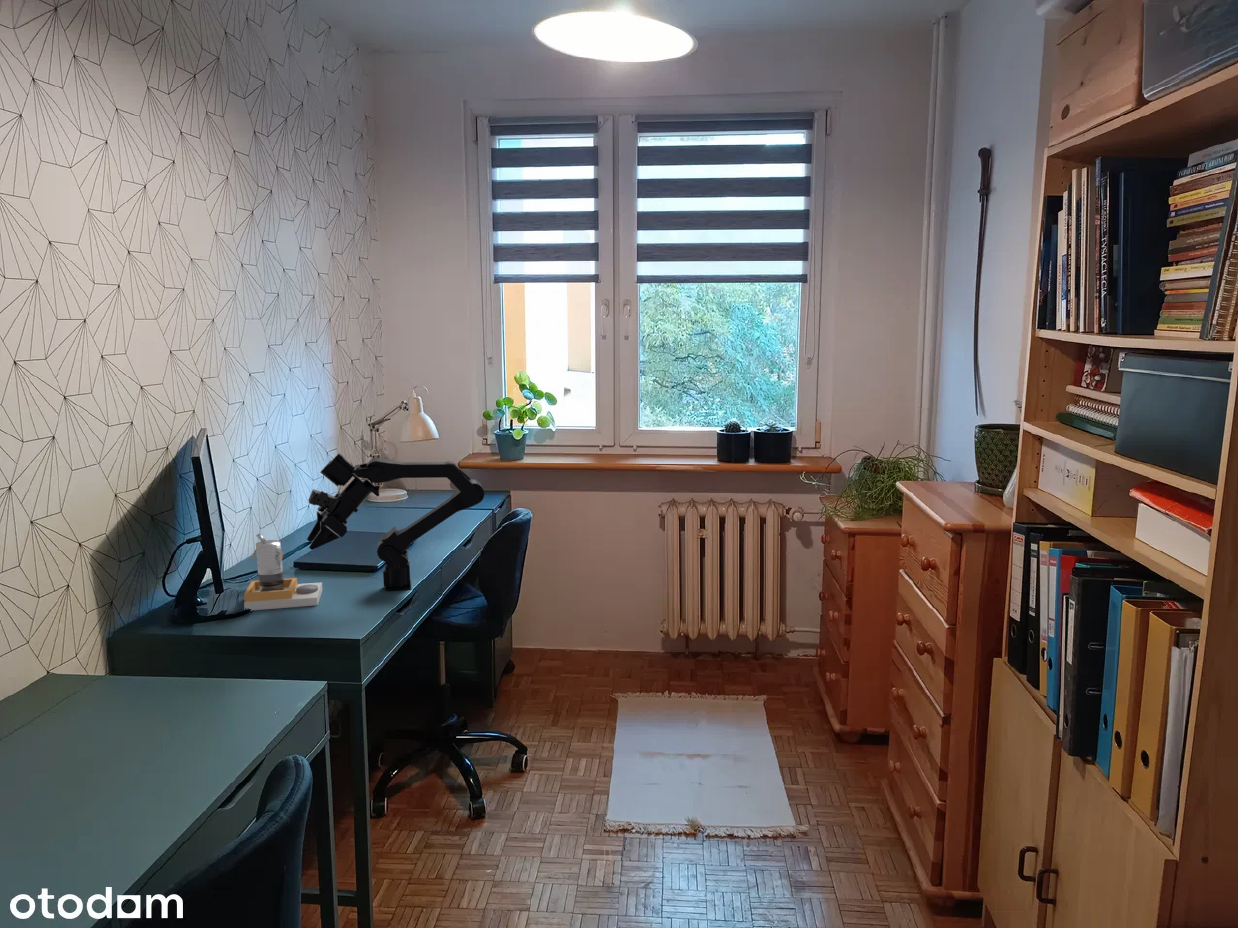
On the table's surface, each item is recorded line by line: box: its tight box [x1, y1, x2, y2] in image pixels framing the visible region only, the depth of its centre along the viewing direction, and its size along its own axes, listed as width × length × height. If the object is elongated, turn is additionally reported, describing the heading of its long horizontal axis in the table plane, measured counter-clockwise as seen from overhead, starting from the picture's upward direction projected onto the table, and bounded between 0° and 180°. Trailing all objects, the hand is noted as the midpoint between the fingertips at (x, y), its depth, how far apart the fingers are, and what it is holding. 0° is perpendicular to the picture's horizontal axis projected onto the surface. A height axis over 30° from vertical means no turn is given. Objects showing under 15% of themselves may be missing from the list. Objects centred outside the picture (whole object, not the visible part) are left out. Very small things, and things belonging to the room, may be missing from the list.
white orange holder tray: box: [243, 577, 323, 611], centre depth 225 cm, size 17×13×4 cm
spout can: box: [255, 532, 285, 592], centre depth 223 cm, size 6×6×16 cm
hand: (309, 544), depth 226 cm, fingers open, 9 cm apart
